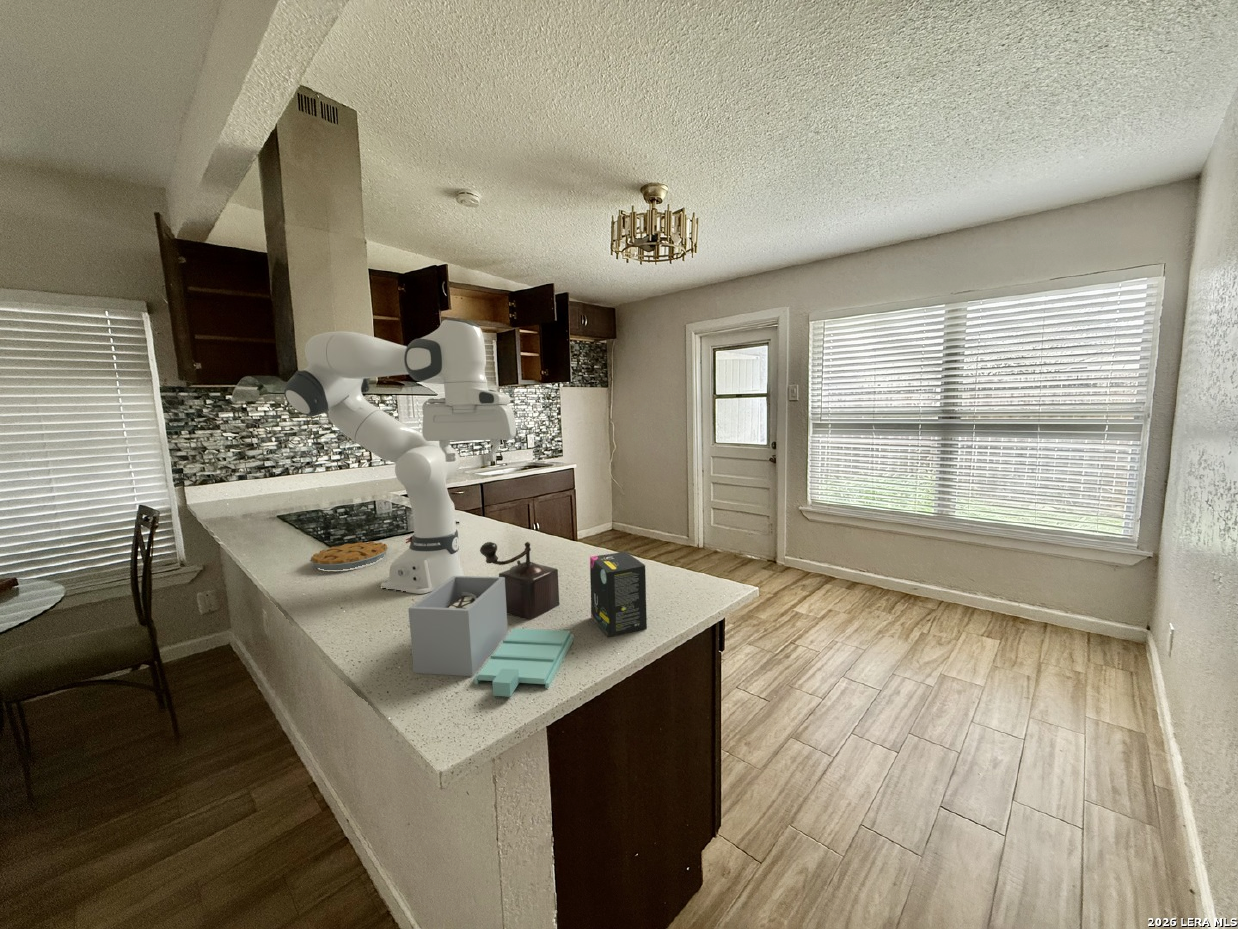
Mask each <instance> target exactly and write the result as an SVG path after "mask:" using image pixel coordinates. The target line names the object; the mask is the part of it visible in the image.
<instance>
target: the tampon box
mask: <svg viewBox="0 0 1238 929" xmlns="http://www.w3.org/2000/svg"><path fill="white" fill-rule="evenodd" d="M589 569H590V570H589V576H590V577H589V578H590V617H591V619H592V620H593V621H594V623H596V625H597V626H598V627H599V628H600V630H601V631H602V632H603V634H605V636H606V637H607V638H611V637H615V636H618V635H624V634H628V633H633V632H637V631H640V630H641V631H643V630H646V629H648V625H647V624H648V620H647V587H646V586H647V582H646V579H647V576H646V564H644V563H643V562H641V561H640V560H638V559H637V558H636V557H634V556H632V554H630V553H628V552H627V551H621V552H613V553H606V554H601V555H593V556H590V557H589Z"/></svg>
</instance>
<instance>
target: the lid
mask: <svg viewBox="0 0 1238 929" xmlns="http://www.w3.org/2000/svg"><path fill="white" fill-rule="evenodd" d="M573 641H574V634H571V630H565V629H564V630H563V629H561V630H559V629H545V628H544V629H543V628H540V629H539V628H538V629H537V628H519V627H517V628H516V627H513V629H512V630H511V631H510V633H509V634H507V635H506V638H503V639H502V642H501V644H500V645H498V646H499V647H497V649H495V650H494V651H495V652H494V653H491V654H490V658H489V659H488V660H487V661H486V663H484V664H483V666H482V668H481V669H479V672H478V673H477V674H476V676H474V678H473V681H474V682H473V683H474V685H479V683H480V682H481V681H488V682H489V681H490V682H491V681H492V682H491V683H492V696H493V697H496V696H497V697H507V698H508V697H511V696H512V695H513V693H514V691H516V689H517V687H518V685H519V684H520V683H522V684H536V685H537V684H538V685H545V687H544V688H545V689H546V688H549V687H551V685H552V684H551V683H553V682H554V679H555V677H556V676H557V674H558V671H559V670H560V668H561V666H562V663H563V661H564V659H565V657H566V655H567V654H568V651H569V649H570V647H571V645H572V643H573ZM555 675H556V676H555ZM552 681H553V682H552ZM549 689H550V688H549Z"/></svg>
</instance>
